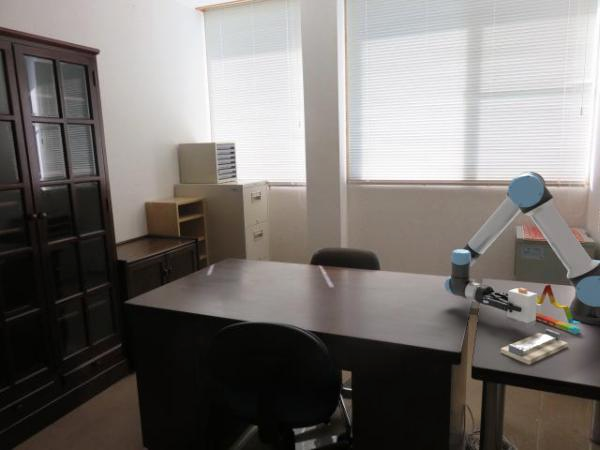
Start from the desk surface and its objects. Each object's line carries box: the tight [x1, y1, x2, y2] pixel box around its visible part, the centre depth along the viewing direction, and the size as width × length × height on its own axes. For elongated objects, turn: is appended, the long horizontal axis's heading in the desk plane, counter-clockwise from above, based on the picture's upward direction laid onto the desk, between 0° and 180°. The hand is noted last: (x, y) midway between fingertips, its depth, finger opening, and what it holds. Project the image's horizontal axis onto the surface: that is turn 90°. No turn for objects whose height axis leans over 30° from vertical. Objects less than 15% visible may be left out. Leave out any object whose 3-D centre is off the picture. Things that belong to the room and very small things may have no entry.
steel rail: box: [508, 328, 561, 357], centre depth 152 cm, size 22×4×2 cm, turn 121°
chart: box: [536, 284, 582, 335], centre depth 176 cm, size 30×3×15 cm, turn 27°
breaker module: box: [506, 287, 538, 329], centre depth 166 cm, size 5×8×13 cm, turn 31°
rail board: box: [500, 332, 569, 365], centre depth 153 cm, size 22×10×2 cm, turn 121°
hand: (535, 310), depth 162 cm, fingers closed on breaker module, 5 cm apart
